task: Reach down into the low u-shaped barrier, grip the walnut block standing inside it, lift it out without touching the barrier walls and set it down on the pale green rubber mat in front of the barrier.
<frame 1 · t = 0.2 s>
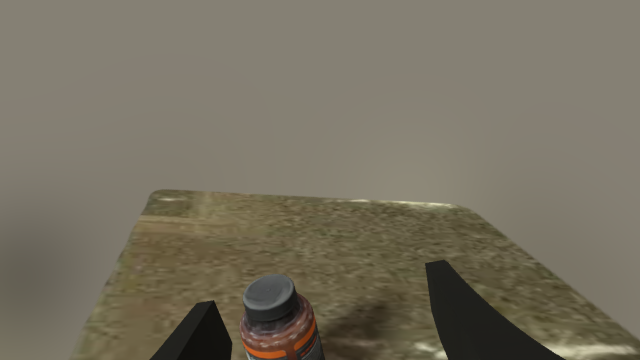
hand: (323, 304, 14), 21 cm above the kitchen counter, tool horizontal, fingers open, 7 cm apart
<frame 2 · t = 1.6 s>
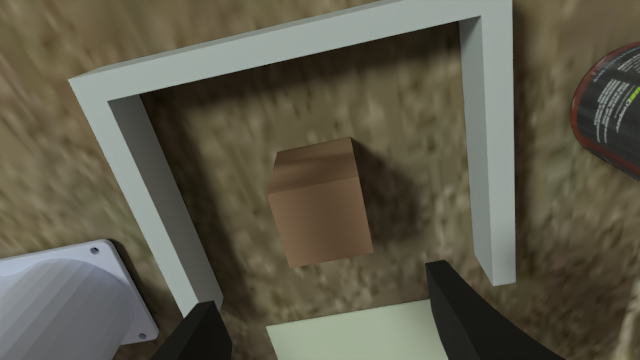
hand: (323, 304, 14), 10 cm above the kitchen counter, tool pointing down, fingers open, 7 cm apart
block: (321, 177, 23), on the kitchen counter
u-shaped barrier: (321, 177, 22), on the kitchen counter
supplement bottle: (621, 97, 21), on the kitchen counter
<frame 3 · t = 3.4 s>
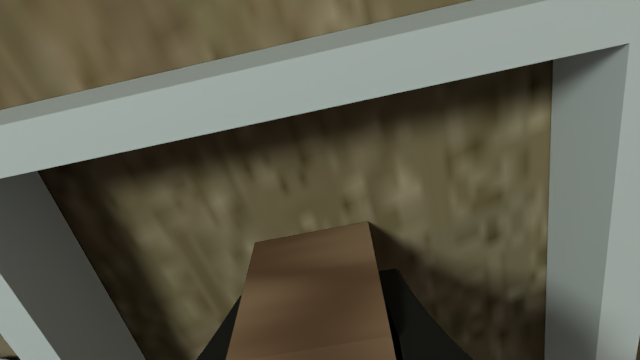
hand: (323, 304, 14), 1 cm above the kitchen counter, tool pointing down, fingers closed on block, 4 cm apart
block: (322, 277, 15), on the kitchen counter, touching gripper
u-shaped barrier: (322, 277, 15), on the kitchen counter
when the fingers open (2 cm above the kitchen counter, at t = 7.5 s): block stays where it is, resting on mat.
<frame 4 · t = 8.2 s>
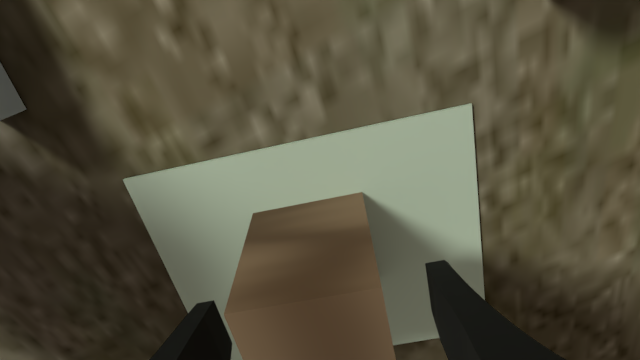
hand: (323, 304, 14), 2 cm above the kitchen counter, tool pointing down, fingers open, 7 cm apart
mat: (322, 260, 16), on the kitchen counter
block: (318, 247, 15), resting on mat
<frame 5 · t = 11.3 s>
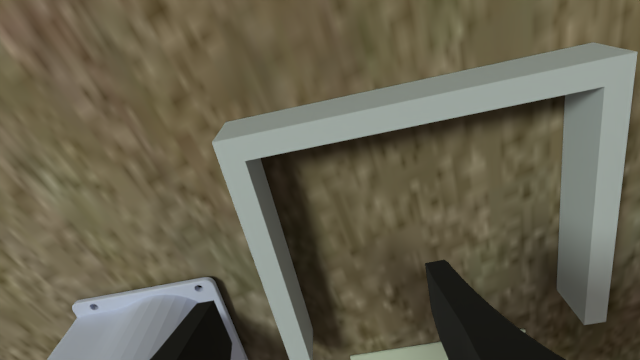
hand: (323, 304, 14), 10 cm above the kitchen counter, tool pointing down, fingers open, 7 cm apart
u-shaped barrier: (419, 221, 24), on the kitchen counter
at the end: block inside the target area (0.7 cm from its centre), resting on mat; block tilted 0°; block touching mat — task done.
